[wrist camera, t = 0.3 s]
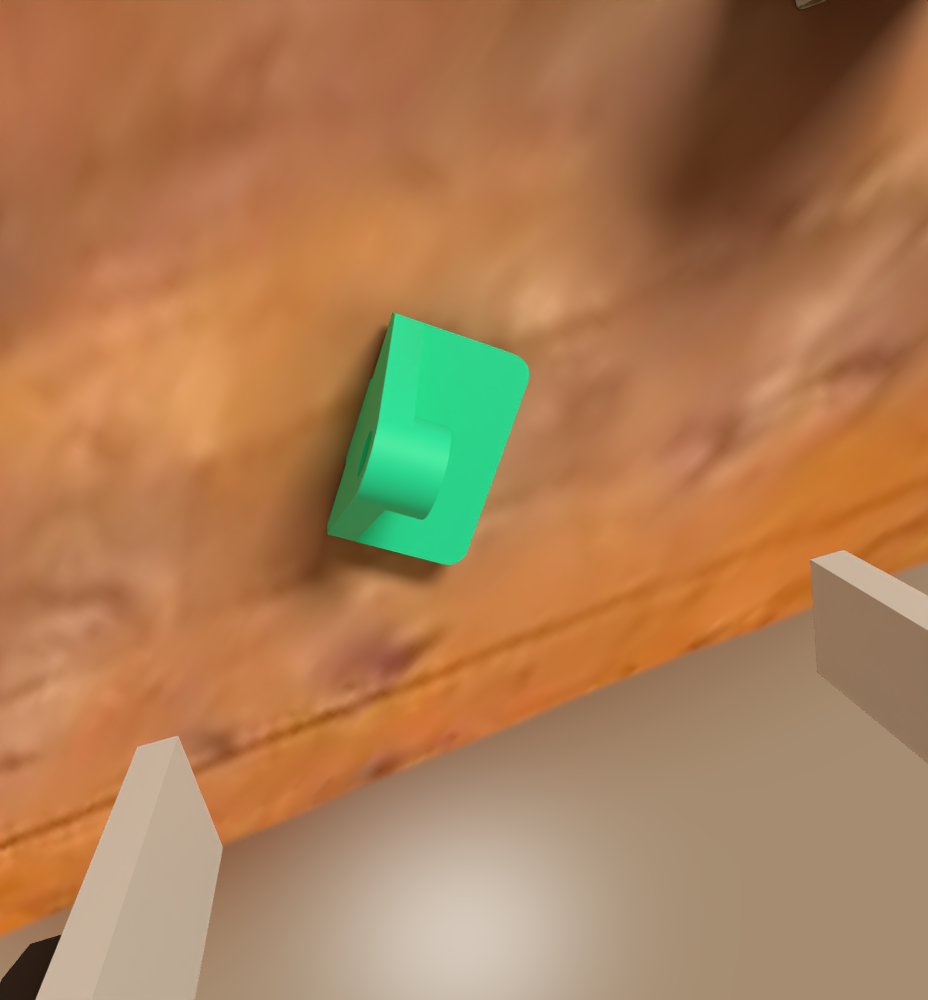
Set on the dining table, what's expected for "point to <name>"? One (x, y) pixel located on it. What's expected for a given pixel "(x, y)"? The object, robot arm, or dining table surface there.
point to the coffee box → (807, 3)
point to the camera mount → (427, 442)
